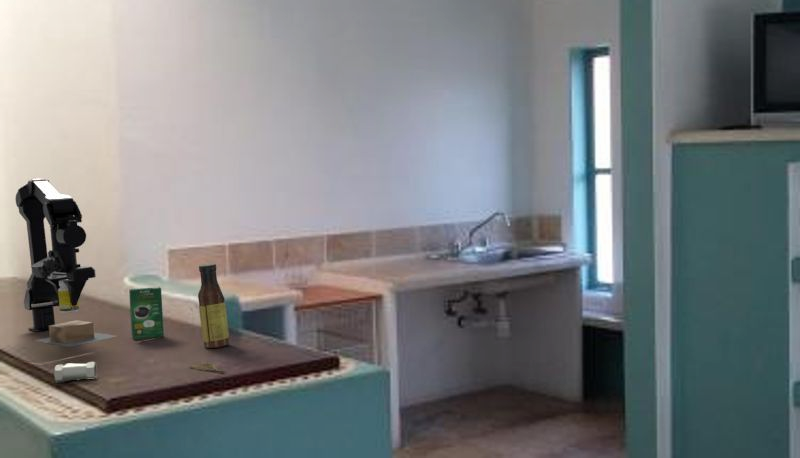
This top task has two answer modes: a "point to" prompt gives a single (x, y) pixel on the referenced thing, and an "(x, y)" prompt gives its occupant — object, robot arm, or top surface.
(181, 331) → the top surface
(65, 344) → the build mat
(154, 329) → the coffee box
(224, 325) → the sauce bottle
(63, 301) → the supplement bottle
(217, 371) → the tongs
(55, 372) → the pipe fitting
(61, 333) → the base block
